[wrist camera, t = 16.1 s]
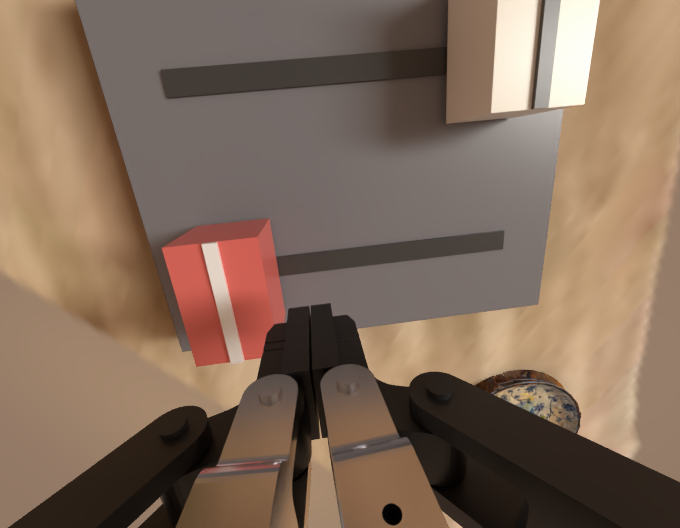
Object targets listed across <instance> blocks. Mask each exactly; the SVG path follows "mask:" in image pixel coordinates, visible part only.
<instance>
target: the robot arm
mask: <svg viewBox="0 0 680 528" xmlns="http://www.w3.org/2000/svg"><path fill="white" fill-rule="evenodd" d="M319 420H320V427H321V433H322V438H326V437H328V444H329V451H330V459H331V466H332V472H333V479H334V485H335V491H336V497H337V504H338V510H339V516H340V522H341V528H449V526H448V524H447V522H446V520H445V517H444V515H443V513H442V511H443V512H444V513H446V514H447V515H448V516H449V517H451V518H452V519H453V520H454V521H455V522H457V523H458V524H459V525H460V526H462V527H463V528H680V482H678V481H676V480H674V479H672V478H669V477H667V476H665V475H663V474H661V473H659V472H657V471H655V470H652V469H650V468H648V467H646V466H644V465H642V464H640V463H637V462H635V461H633V460H631V459H629V458H627V457H625V456H623V455H621V454H618V453H616V452H614V451H612V450H610V449H608V448H606V447H604V446H601V445H599V444H597V443H595V442H593V441H591V440H589V439H587V438H584V437H582V436H580V435H578V434H576V433H574V432H572V431H570V430H567V429H565V428H563V427H561V426H559V425H557V424H555V423H553V422H550V421H548V420H546V419H544V418H542V417H540V416H538V415H536V414H533V413H531V412H529V411H527V410H525V409H523V408H521V407H518V406H516V405H514V404H512V403H510V402H508V401H506V400H504V399H501V398H499V397H497V396H495V395H493V394H491V393H489V392H487V391H484V390H482V389H480V388H478V387H476V386H474V385H472V384H470V383H467V382H465V381H463V380H461V379H459V378H457V377H455V376H452V375H450V374H447V373H442V372H427V373H423V374H420V375H418V376H417V377H415V378H414V379H413V380H412V381H411V383H410V386H409V387H404V386H395V385H390V384H386V383H384V382H381V381H379V380H378V379H376V378H375V377H374V375H373V374H372V372H371V371H370V370H369V369H368V366H367V363H366V359H365V355H364V352H363V348H362V345H361V341H360V338H359V334H358V331H357V327H356V324H355V321H354V320H353V319H352V318H350V317H349V316H348V315H340V316H333V315H332V309H331V303H326V304H318V305H311V314H310V308H309V306H303V307H295V308H289V309H288V317H287V322H286V323H278V324H274V325H273V327H272V328H271V329H270V330H269V331H268V332H267V335H266V340H265V344H264V349H263V354H262V358H261V363H260V367H259V372H258V377H257V380H256V381H255V382H253V383H252V384H251V385H249V387H248V388H247V389H246V390H245V391H244V393H243V395H242V398H241V401H240V404H239V405H237V406H235V407H234V408H231V409H229V410H227V411H224V412H222V413H219V414H217V415H214V416H212V417H209V418H207V415H206V412H205V411H204V410H203V409H202V408H200V407H197V406H184V407H179V408H176V409H173V410H171V411H169V412H167V413H165V414H163V415H162V416H160V417H159V418H157V419H156V420H154V421H153V422H152V423H150V424H149V425H148V426H146V427H145V428H144V429H142V430H141V431H139V432H138V433H137V434H135V435H134V436H133V437H131V438H130V439H129V440H127V441H126V442H124V443H123V444H122V445H120V446H119V447H118V448H116V449H115V450H114V451H112V452H111V453H109V454H108V455H107V456H105V457H104V458H103V459H101V460H100V461H98V462H97V463H96V464H95V465H93V466H92V467H91V468H89V469H88V470H86V471H85V472H84V473H82V474H81V475H79V476H78V477H77V478H75V479H74V480H73V481H71V482H70V483H68V484H67V485H66V486H64V487H63V488H62V489H60V490H59V491H58V492H56V493H55V494H53V495H52V496H51V497H49V498H48V499H47V500H45V501H44V502H43V503H41V504H40V505H38V506H37V507H36V508H34V509H33V510H32V511H30V512H29V513H28V514H26V515H25V516H23V517H22V518H21V519H19V520H18V521H17V522H15V523H14V524H13V525H11V526H10V527H8V528H127V527H128V526H129V525H131V523H133V522H134V521H135V520H136V519H137V518H138V517H139V516H140V515H141V514H142V513H143V512H144V511H145V510H146V509H148V508H149V507H150V506H151V505H152V504H153V503H154V502H155V501H156V500H157V499H158V498H159V497H160V498H161V501H162V503H163V504H162V505H161V506H160V507H159V508H158V509H157V510H156V511H155V512H154V513H153V514H152V515H151V516H150V517H149V518H148V519H147V520H146V521H145V522H143V523H142V524H141V525H140V526H139V527H138V528H308V517H309V501H310V485H311V470H312V469H311V460H310V459H311V453H312V452H311V440H314V439H320V432H319ZM441 510H442V511H441Z"/></svg>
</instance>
